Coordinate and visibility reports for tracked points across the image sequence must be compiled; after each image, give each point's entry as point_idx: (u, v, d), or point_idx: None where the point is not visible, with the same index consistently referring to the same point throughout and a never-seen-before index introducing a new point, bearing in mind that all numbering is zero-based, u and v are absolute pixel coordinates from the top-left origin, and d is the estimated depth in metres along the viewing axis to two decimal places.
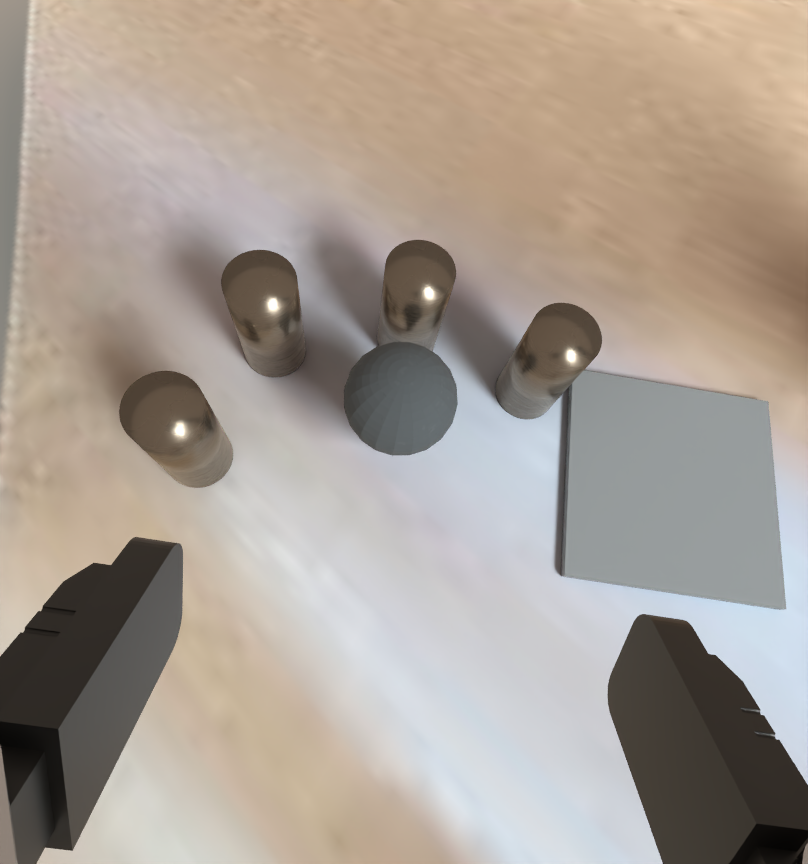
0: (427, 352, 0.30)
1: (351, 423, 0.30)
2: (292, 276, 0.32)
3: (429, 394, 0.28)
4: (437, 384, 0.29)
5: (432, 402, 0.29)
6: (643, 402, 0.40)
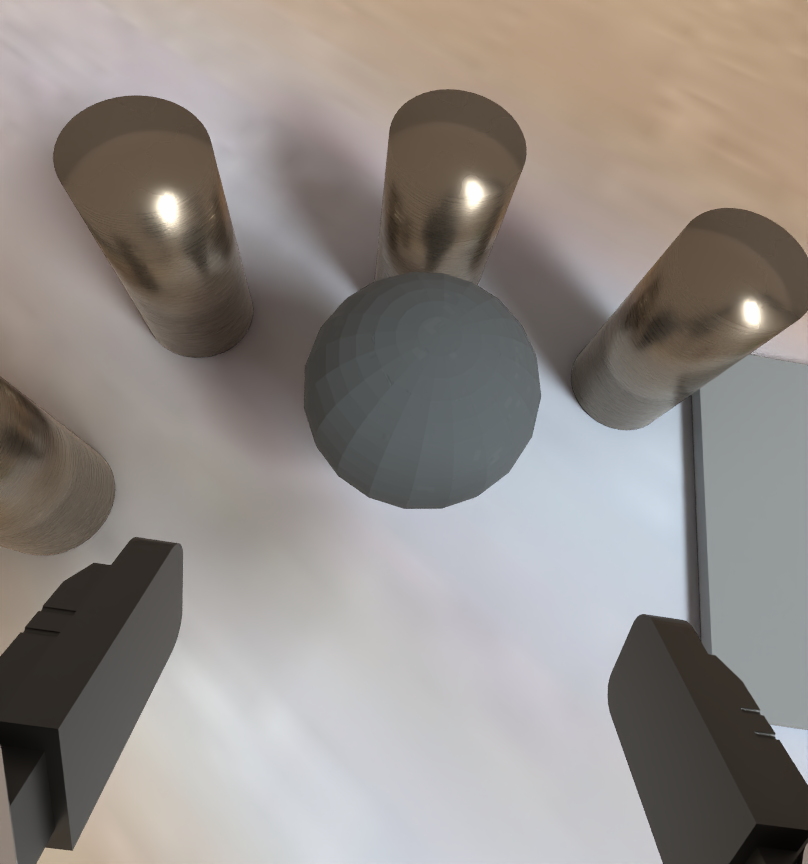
0: (481, 291, 0.14)
1: (318, 443, 0.14)
2: (203, 145, 0.16)
3: (491, 379, 0.12)
4: (508, 357, 0.13)
5: (498, 400, 0.13)
6: None
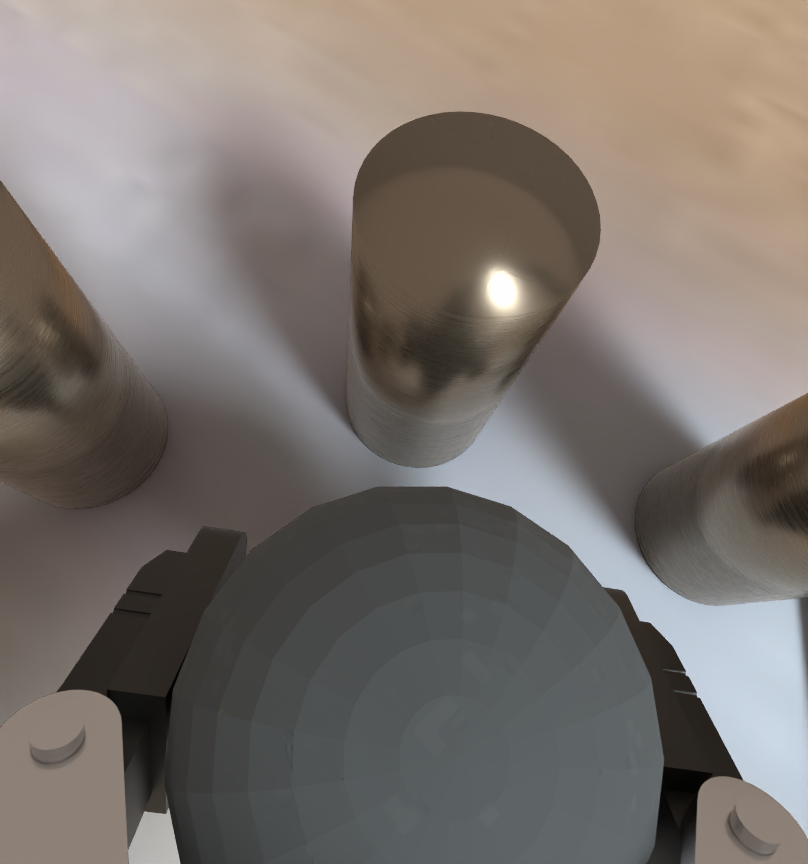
0: (541, 563, 0.06)
1: None
2: None
3: (582, 851, 0.05)
4: (617, 769, 0.05)
5: None
6: None
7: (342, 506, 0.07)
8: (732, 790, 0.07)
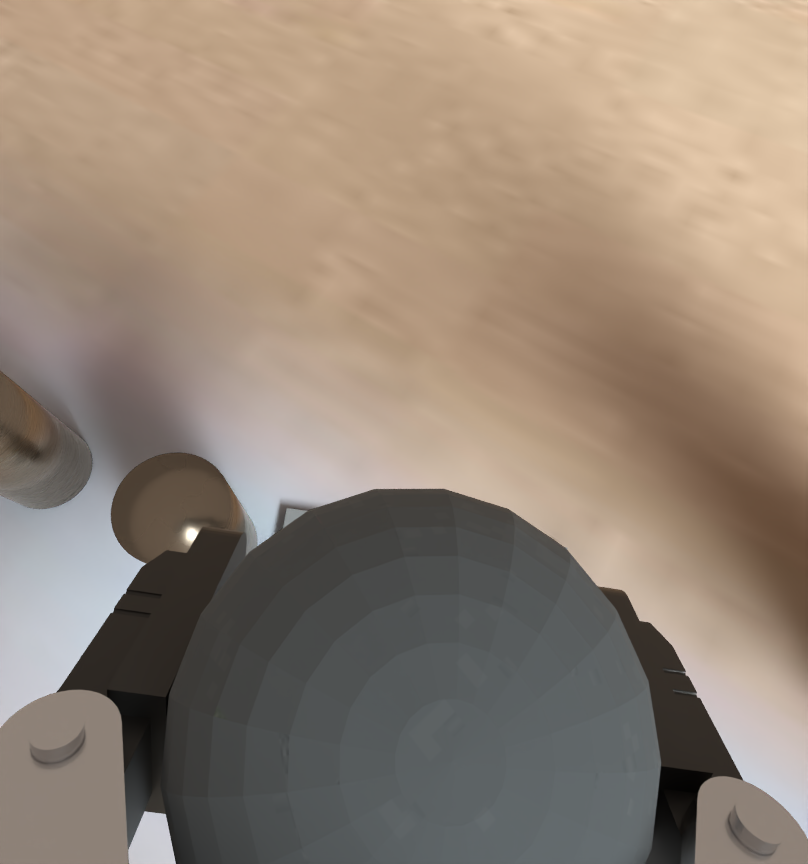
0: (538, 566, 0.06)
1: None
2: None
3: (578, 855, 0.05)
4: (612, 773, 0.05)
5: None
6: None
7: (339, 509, 0.07)
8: (732, 790, 0.07)
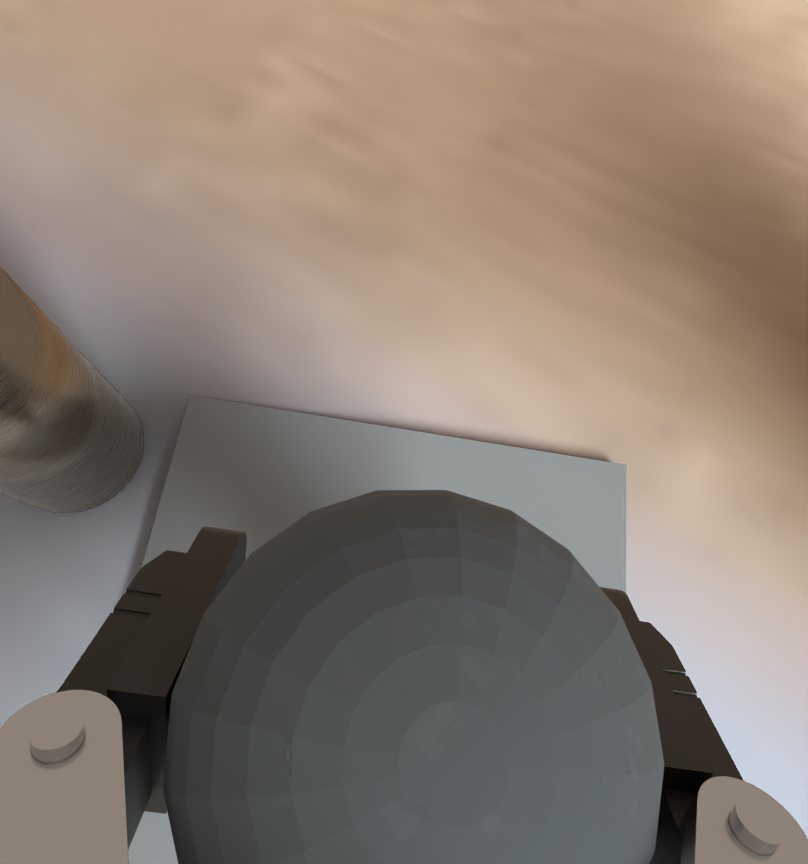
0: (541, 567, 0.06)
1: None
2: None
3: (583, 857, 0.05)
4: (617, 775, 0.05)
5: None
6: (339, 471, 0.18)
7: (341, 510, 0.07)
8: (732, 790, 0.07)
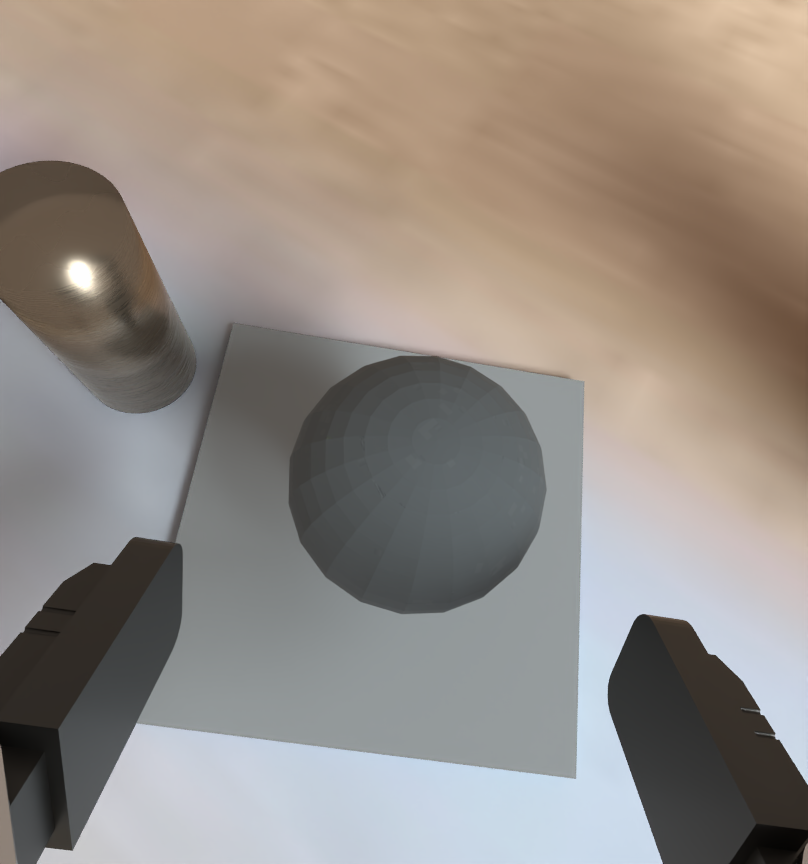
0: (481, 380, 0.13)
1: (304, 545, 0.13)
2: None
3: (493, 486, 0.11)
4: (511, 460, 0.12)
5: (501, 508, 0.11)
6: None
7: None
8: None
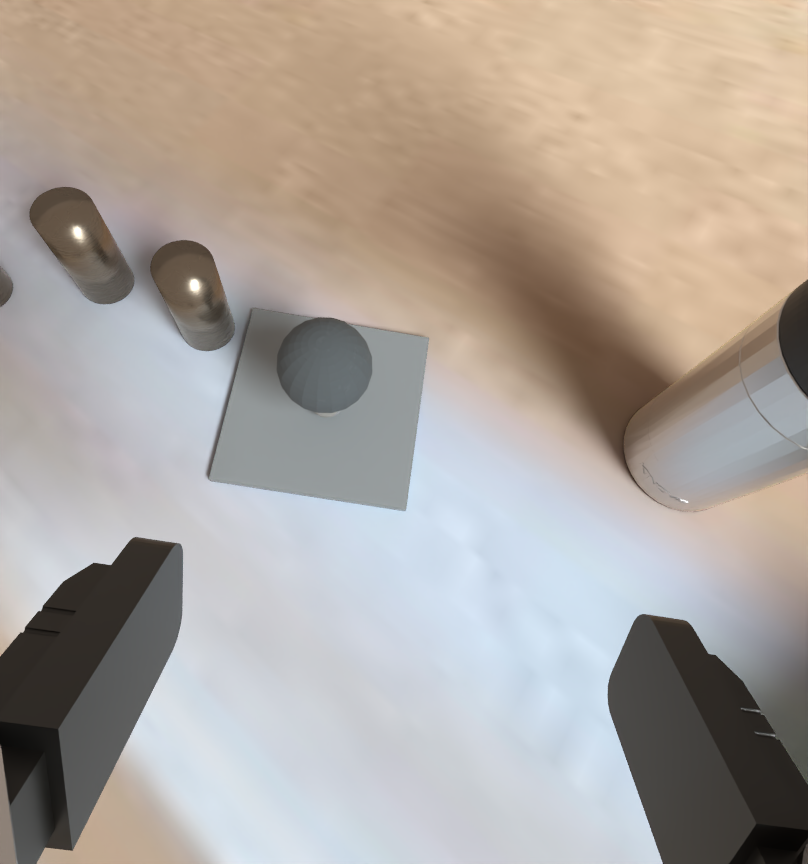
0: (344, 325, 0.36)
1: (282, 385, 0.36)
2: None
3: (343, 358, 0.34)
4: (351, 350, 0.35)
5: (346, 366, 0.34)
6: None
7: None
8: None
